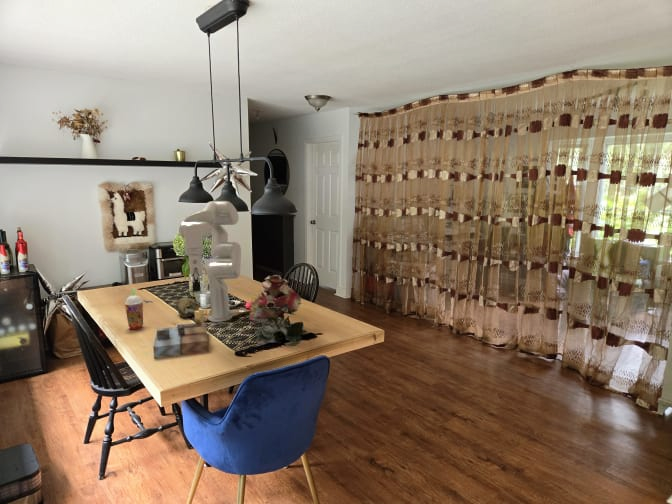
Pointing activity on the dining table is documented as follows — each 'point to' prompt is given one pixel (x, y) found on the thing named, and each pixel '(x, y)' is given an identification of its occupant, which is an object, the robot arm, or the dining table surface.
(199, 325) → the switch lever
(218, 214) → the robot arm
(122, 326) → the dining table surface
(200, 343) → the lever switch panel
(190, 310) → the mineral specimen
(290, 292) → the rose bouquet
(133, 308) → the smoothie
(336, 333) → the dining table surface
